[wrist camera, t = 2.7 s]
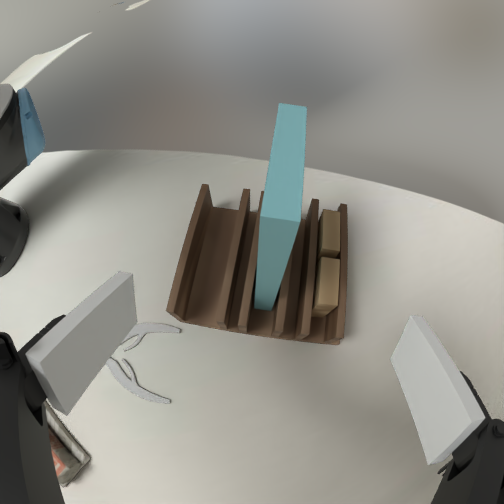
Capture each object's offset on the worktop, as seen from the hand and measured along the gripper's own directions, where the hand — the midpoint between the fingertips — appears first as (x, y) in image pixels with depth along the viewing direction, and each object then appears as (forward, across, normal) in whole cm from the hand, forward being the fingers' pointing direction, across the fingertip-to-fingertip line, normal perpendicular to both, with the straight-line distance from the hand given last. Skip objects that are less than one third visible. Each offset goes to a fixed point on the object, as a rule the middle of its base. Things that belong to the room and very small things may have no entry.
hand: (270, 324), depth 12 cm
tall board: (+21, 0, -7) cm, 22 cm away
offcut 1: (+23, +6, -4) cm, 24 cm away
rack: (+22, 0, -7) cm, 23 cm away
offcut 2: (+19, +6, -8) cm, 22 cm away
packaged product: (0, -29, -30) cm, 41 cm away
